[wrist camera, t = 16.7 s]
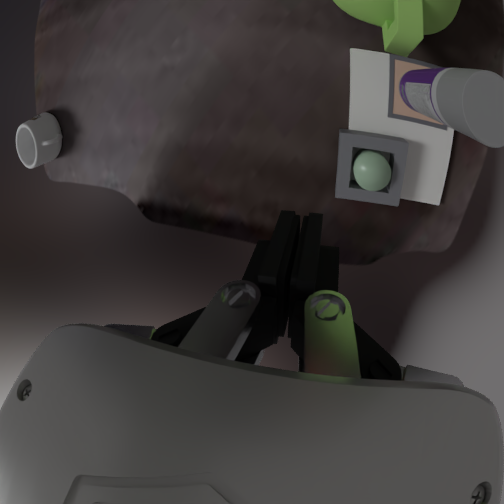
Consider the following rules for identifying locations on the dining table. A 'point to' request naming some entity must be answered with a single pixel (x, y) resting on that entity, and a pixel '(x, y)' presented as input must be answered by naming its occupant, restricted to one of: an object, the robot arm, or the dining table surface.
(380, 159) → the button
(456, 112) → the container
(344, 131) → the picture board
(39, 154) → the mug
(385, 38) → the teapot
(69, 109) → the dining table surface
